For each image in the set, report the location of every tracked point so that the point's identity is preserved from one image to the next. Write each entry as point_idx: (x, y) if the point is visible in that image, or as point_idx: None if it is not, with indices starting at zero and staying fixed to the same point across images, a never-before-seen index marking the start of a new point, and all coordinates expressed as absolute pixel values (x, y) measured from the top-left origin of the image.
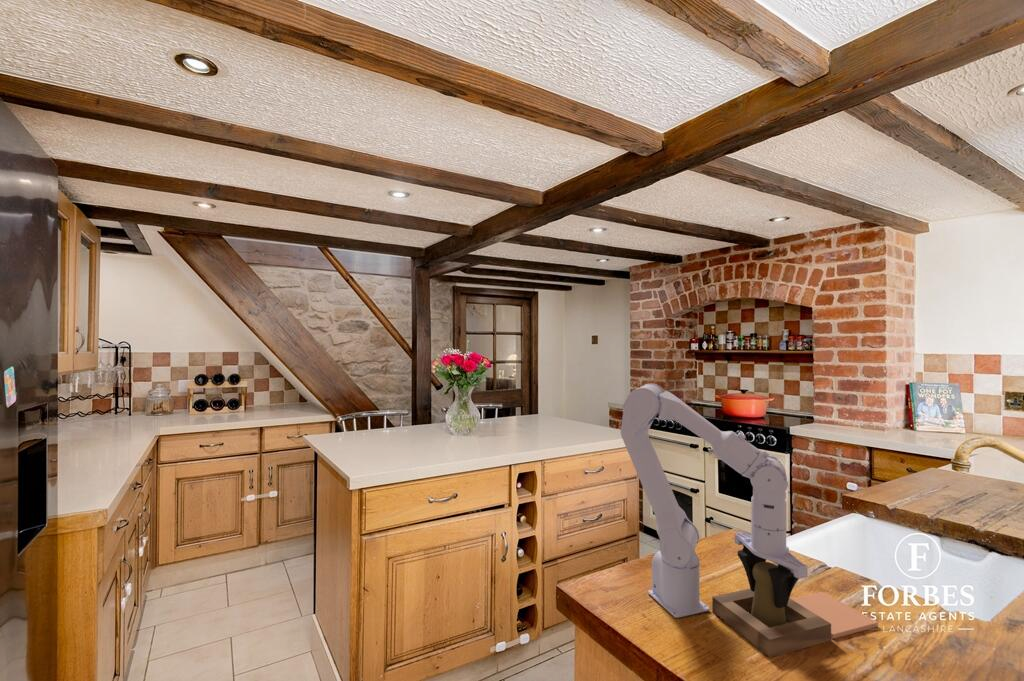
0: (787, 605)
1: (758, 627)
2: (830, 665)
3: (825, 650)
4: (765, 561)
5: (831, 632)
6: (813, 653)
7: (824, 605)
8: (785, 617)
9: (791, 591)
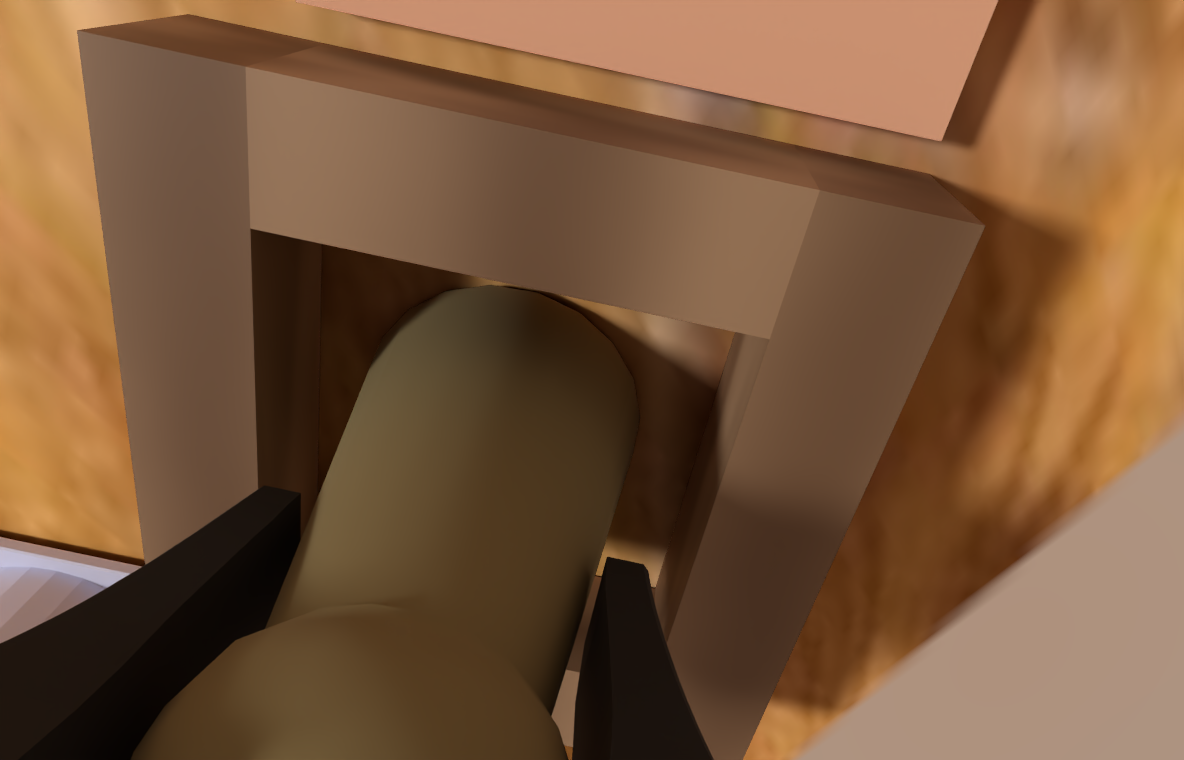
0: (516, 283)
1: None
2: (1025, 478)
3: (939, 346)
4: (52, 732)
5: (921, 116)
6: (888, 449)
7: None
8: (599, 405)
9: (687, 702)
